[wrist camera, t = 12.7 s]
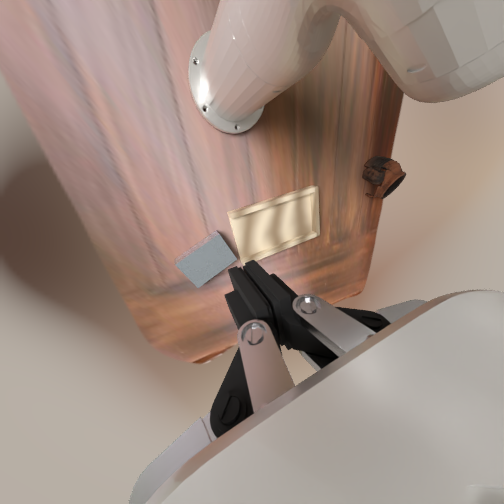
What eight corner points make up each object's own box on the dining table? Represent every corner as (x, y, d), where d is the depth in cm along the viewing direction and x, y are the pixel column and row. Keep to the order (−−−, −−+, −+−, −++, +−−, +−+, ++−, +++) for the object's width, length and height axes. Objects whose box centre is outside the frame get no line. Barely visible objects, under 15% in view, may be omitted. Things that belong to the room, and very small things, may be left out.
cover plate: (215, 229, 38) (219, 233, 35) (233, 254, 41) (237, 259, 39) (174, 258, 37) (175, 264, 34) (196, 280, 40) (198, 288, 38)
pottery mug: (385, 153, 49) (415, 168, 45) (361, 186, 55) (385, 202, 51) (366, 149, 42) (399, 166, 38) (340, 187, 48) (366, 205, 44)
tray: (311, 185, 42) (318, 186, 41) (313, 232, 48) (319, 235, 46) (227, 212, 37) (230, 214, 35) (240, 261, 42) (244, 265, 41)
